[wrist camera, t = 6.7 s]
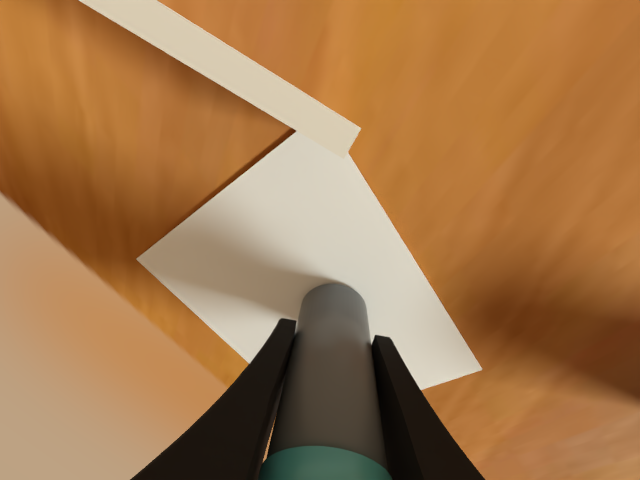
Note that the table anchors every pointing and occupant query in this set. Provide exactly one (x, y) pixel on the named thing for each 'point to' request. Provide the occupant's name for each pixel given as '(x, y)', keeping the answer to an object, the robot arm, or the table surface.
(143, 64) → the table surface
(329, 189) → the paper
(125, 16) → the plate
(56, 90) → the table surface
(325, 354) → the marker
